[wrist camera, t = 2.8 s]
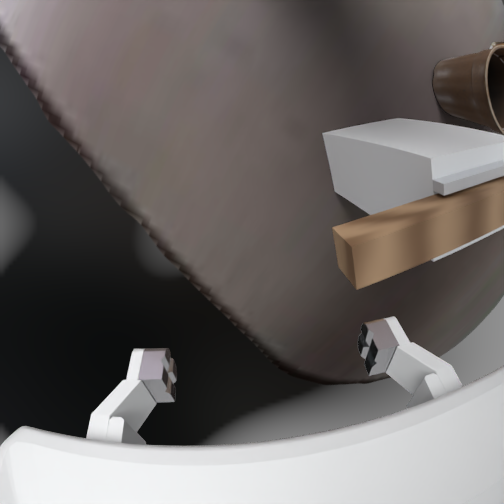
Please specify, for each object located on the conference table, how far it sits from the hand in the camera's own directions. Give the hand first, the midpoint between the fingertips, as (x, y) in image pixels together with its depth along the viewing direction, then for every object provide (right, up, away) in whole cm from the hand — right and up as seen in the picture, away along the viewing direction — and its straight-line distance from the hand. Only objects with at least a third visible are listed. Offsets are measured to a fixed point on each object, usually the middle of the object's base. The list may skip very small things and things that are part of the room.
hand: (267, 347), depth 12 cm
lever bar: (+17, +8, +11) cm, 22 cm away
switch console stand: (+19, +21, +34) cm, 44 cm away
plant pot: (+38, +36, +30) cm, 61 cm away
